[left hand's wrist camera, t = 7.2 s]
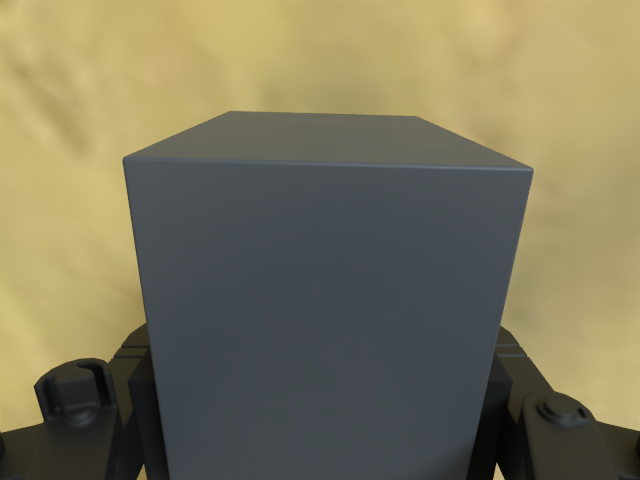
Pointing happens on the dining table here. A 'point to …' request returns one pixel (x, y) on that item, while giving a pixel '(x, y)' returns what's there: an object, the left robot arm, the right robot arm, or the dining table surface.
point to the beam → (322, 293)
